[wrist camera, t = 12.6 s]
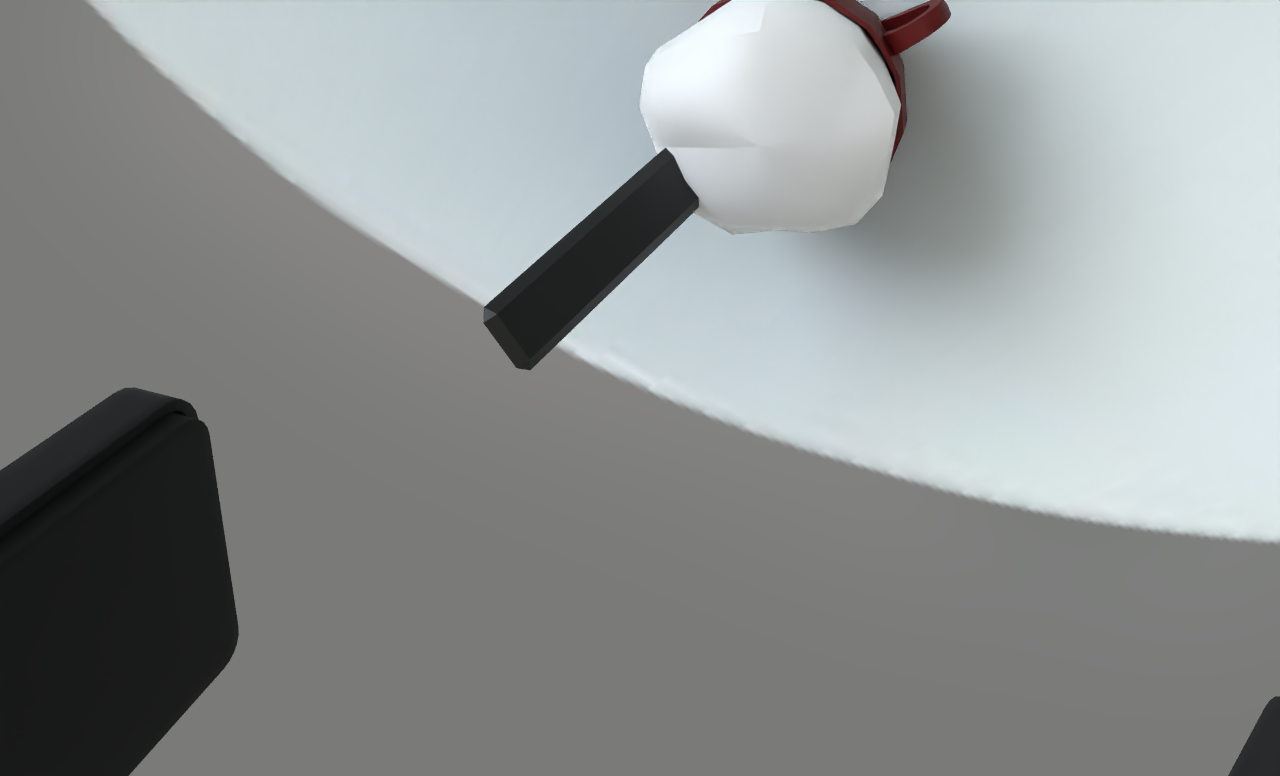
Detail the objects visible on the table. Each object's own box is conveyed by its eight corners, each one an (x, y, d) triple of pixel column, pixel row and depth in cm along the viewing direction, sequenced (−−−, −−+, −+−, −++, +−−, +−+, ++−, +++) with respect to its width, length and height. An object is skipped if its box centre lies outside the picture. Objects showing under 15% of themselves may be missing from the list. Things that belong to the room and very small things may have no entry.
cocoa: (951, -68, 27) (914, 27, 18) (968, 170, 30) (945, 368, 20) (608, -4, 31) (413, 105, 21) (651, 204, 34) (497, 388, 24)
